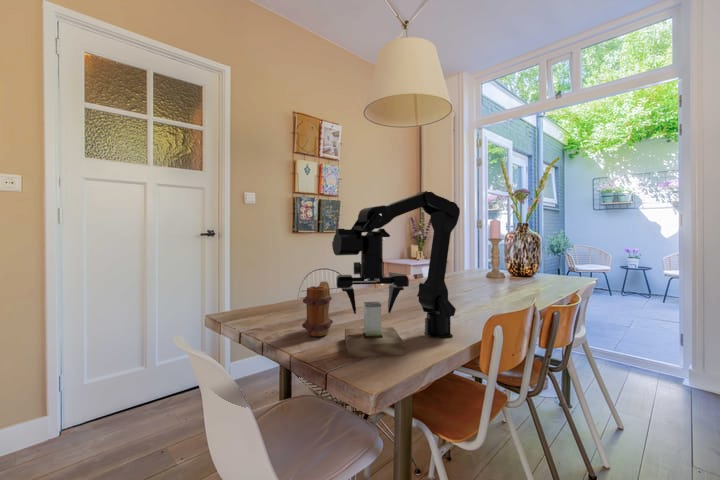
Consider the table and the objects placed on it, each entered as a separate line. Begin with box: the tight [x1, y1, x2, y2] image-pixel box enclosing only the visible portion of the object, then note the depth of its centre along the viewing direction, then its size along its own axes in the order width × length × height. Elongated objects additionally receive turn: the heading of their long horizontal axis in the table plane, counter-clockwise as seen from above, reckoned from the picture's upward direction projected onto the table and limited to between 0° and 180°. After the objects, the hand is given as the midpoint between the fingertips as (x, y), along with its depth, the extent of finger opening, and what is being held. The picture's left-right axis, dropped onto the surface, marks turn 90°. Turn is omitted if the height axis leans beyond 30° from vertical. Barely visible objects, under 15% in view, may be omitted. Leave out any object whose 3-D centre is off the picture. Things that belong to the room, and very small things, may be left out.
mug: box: [301, 281, 334, 338], centre depth 100 cm, size 15×8×15 cm, turn 168°
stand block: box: [344, 326, 406, 358], centre depth 87 cm, size 14×14×4 cm
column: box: [363, 301, 382, 336], centre depth 87 cm, size 4×4×8 cm
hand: (372, 313), depth 87 cm, fingers open, 9 cm apart
